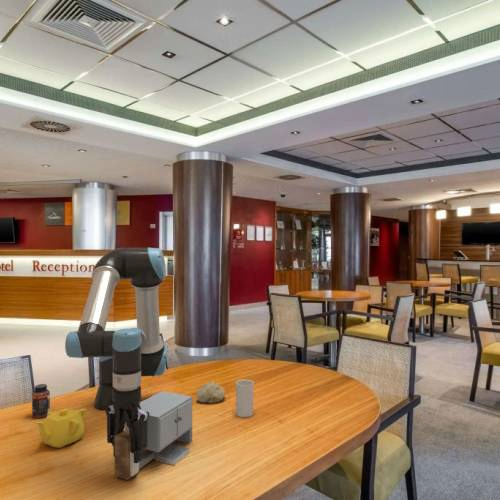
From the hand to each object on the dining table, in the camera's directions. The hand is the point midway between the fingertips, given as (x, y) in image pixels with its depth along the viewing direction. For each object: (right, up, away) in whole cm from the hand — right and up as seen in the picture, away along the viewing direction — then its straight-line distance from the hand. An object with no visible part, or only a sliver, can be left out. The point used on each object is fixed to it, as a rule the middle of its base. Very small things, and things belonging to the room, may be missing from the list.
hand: (126, 471), depth 115 cm
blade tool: (+4, -1, +8) cm, 9 cm away
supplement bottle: (-44, -1, +41) cm, 60 cm away
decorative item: (+18, -1, +57) cm, 60 cm away
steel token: (+10, -2, +11) cm, 15 cm away
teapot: (-27, -1, +20) cm, 34 cm away
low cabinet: (+6, -1, +15) cm, 16 cm away
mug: (+31, -1, +44) cm, 54 cm away
